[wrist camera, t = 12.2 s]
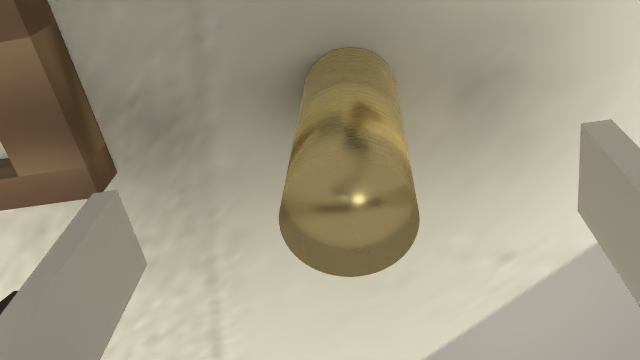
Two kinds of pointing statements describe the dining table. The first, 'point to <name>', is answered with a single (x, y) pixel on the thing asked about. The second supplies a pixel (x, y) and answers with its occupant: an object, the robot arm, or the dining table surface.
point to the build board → (44, 115)
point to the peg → (349, 169)
